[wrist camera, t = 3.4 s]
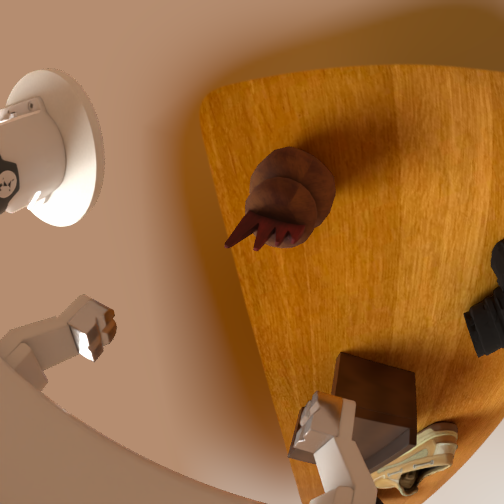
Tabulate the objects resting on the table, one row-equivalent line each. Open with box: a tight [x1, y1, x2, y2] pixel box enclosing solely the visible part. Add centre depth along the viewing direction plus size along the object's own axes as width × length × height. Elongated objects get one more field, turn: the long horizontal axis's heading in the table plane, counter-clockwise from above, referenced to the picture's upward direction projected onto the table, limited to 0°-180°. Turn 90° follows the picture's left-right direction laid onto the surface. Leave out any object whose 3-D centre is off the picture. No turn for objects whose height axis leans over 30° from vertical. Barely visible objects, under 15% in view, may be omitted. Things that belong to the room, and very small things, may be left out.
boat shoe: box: [370, 422, 458, 496], centre depth 45 cm, size 10×29×11 cm, turn 174°
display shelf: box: [288, 352, 417, 474], centre depth 39 cm, size 12×18×12 cm, turn 168°
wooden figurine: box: [225, 147, 336, 251], centre depth 23 cm, size 7×6×15 cm
